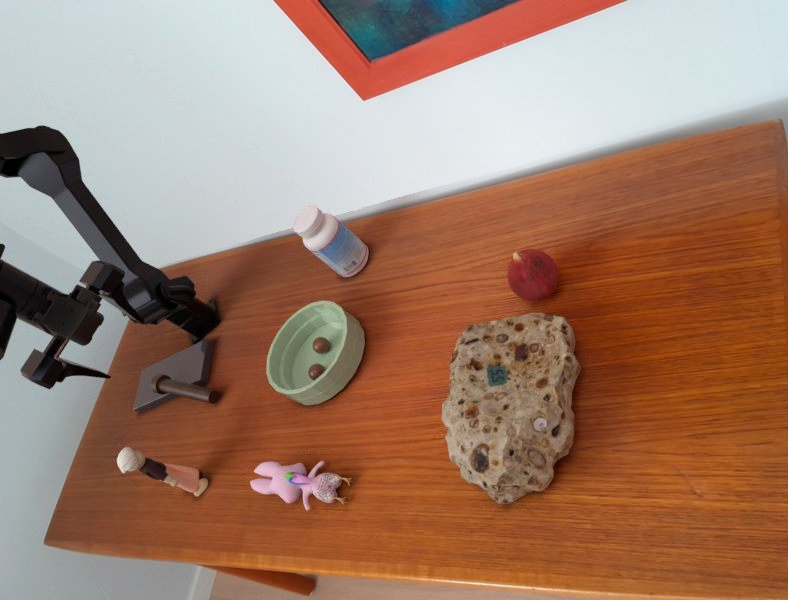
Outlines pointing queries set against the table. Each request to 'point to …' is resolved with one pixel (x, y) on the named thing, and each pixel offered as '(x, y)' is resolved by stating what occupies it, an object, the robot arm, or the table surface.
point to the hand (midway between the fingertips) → (126, 349)
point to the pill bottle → (331, 241)
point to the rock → (511, 403)
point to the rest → (175, 373)
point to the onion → (532, 274)
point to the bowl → (297, 355)
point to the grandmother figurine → (162, 471)
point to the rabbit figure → (297, 482)
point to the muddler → (183, 389)
